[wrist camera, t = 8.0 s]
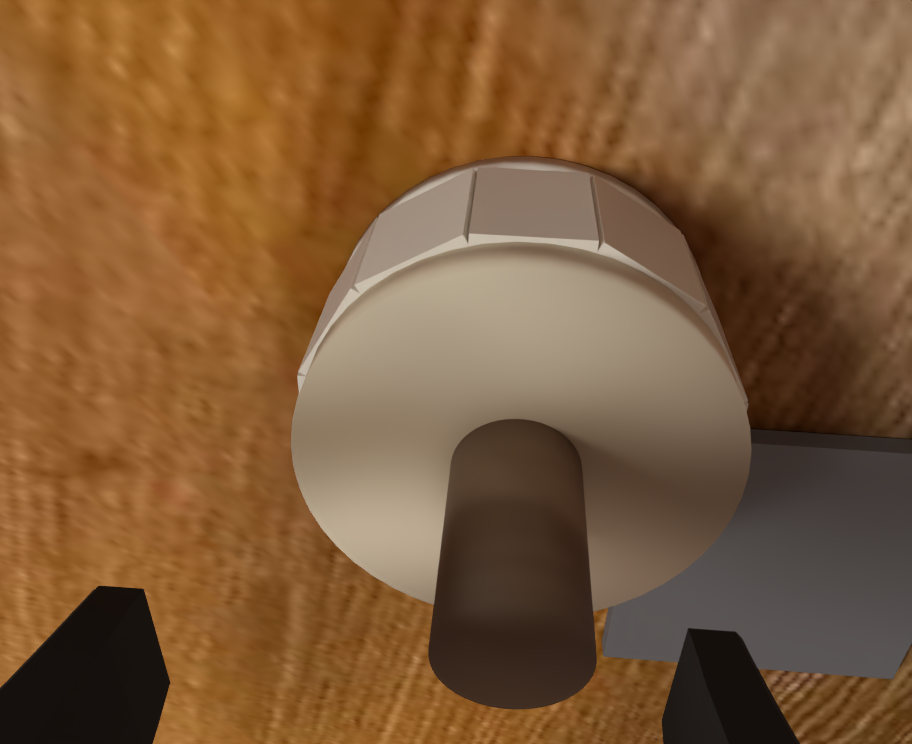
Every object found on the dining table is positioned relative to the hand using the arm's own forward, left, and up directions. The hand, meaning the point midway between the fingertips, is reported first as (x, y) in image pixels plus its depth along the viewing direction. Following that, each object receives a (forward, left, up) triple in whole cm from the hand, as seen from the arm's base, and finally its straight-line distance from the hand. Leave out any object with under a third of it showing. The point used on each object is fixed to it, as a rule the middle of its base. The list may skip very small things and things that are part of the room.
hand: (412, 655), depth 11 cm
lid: (-1, -1, -7) cm, 7 cm away
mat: (-8, -9, -11) cm, 16 cm away
